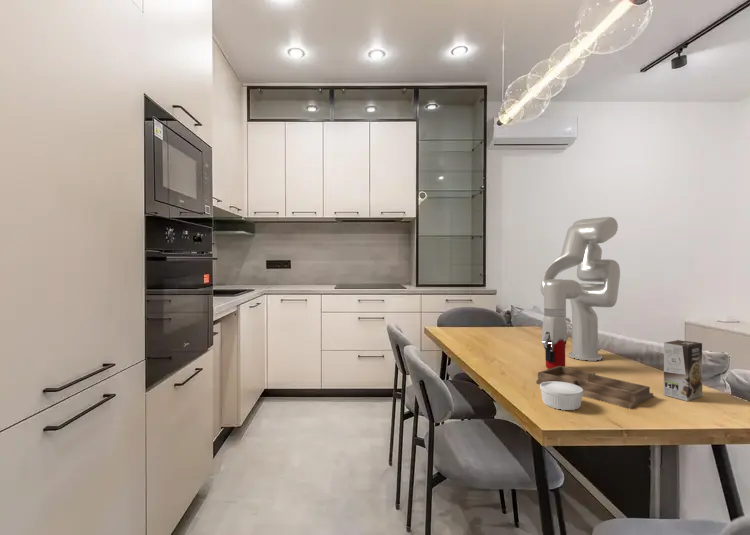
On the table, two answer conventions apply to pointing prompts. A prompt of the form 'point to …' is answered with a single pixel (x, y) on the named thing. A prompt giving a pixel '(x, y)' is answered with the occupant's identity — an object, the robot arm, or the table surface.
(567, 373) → the brown wooden tray
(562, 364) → the beverage can
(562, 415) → the table surface
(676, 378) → the coffee box
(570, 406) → the ramekin
